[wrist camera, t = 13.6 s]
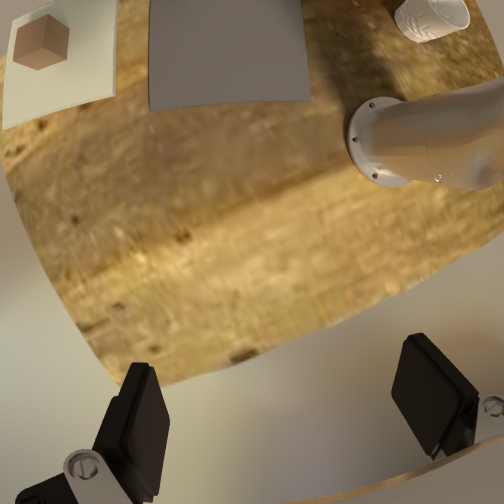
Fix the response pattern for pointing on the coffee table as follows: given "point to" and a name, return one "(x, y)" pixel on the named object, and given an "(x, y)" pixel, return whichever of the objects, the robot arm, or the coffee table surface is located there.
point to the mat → (226, 52)
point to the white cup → (431, 18)
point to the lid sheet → (67, 74)
